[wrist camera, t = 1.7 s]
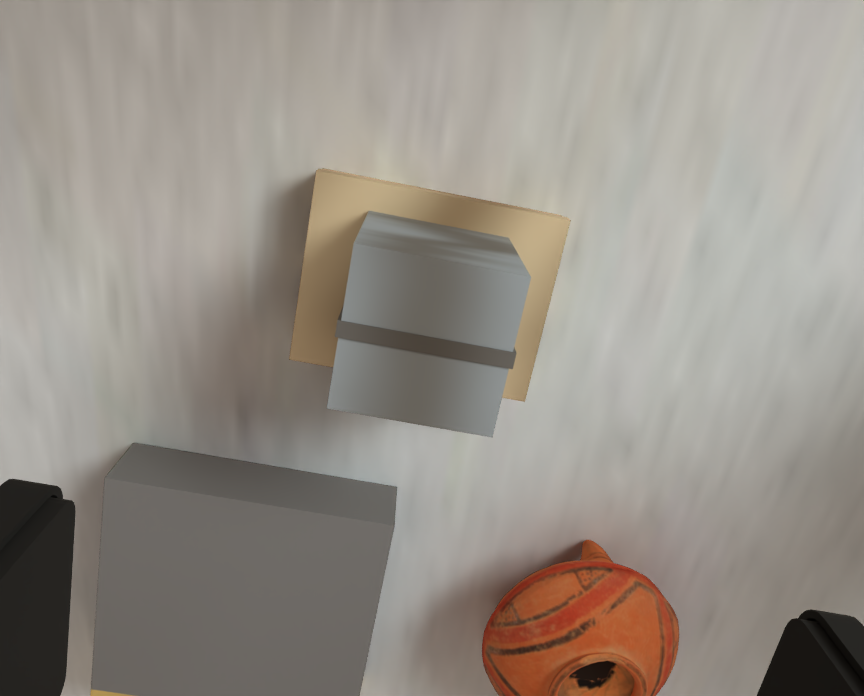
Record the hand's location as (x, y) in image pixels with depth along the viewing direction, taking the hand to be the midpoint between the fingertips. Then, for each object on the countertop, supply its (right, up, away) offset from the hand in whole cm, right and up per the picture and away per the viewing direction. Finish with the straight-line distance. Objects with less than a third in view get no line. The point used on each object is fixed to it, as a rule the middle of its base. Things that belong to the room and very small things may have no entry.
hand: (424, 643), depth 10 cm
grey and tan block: (0, +6, +19) cm, 21 cm away
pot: (+6, -7, +24) cm, 26 cm away
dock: (-8, -6, +23) cm, 25 cm away
